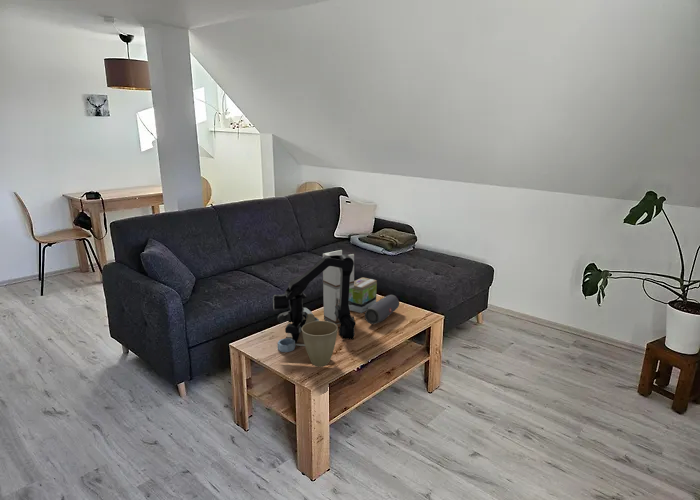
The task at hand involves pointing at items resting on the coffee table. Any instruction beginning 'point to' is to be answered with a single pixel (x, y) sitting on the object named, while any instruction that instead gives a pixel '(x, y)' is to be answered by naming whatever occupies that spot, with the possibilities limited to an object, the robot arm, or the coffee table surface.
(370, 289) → the tea box
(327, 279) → the tall grey upright box
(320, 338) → the plant pot
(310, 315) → the ceramic mug
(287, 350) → the bowl
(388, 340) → the coffee table surface
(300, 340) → the lid
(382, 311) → the bluetooth speaker
